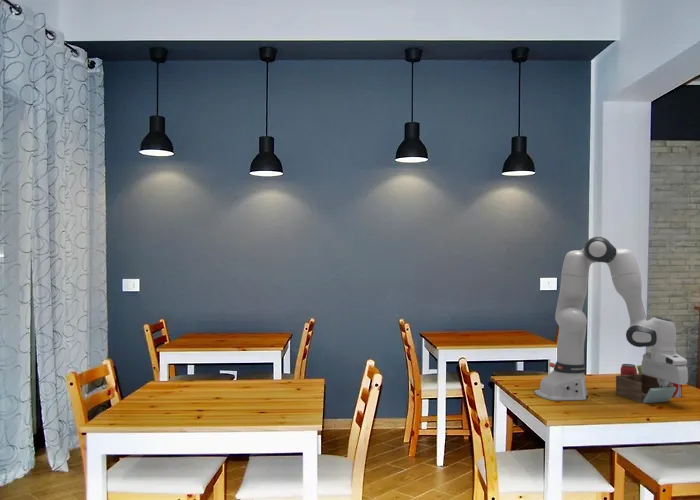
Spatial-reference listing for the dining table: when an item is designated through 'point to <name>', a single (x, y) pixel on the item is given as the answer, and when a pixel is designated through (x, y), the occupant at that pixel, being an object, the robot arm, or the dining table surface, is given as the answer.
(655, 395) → the panel
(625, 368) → the beer can
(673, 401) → the dining table surface
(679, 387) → the soda can
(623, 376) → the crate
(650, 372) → the robot arm
